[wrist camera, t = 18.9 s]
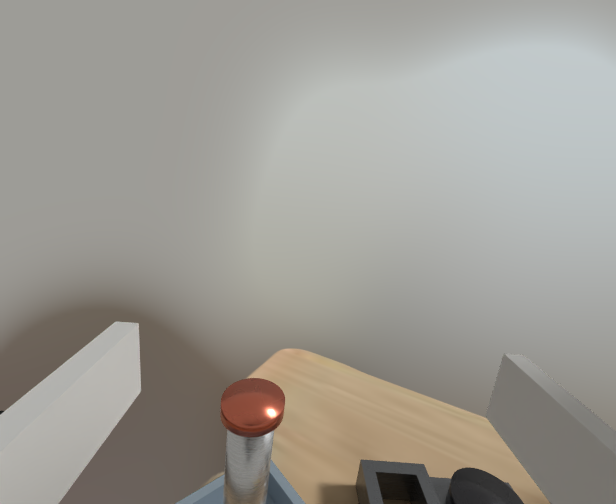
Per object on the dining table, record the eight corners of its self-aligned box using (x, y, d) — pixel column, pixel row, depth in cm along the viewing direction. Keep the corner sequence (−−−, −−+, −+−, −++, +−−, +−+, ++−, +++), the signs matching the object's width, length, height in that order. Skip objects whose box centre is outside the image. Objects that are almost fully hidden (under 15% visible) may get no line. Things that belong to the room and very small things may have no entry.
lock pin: (247, 535, 32) (262, 371, 27) (274, 583, 28) (297, 404, 24) (201, 571, 28) (210, 392, 24) (226, 629, 25) (241, 434, 20)
